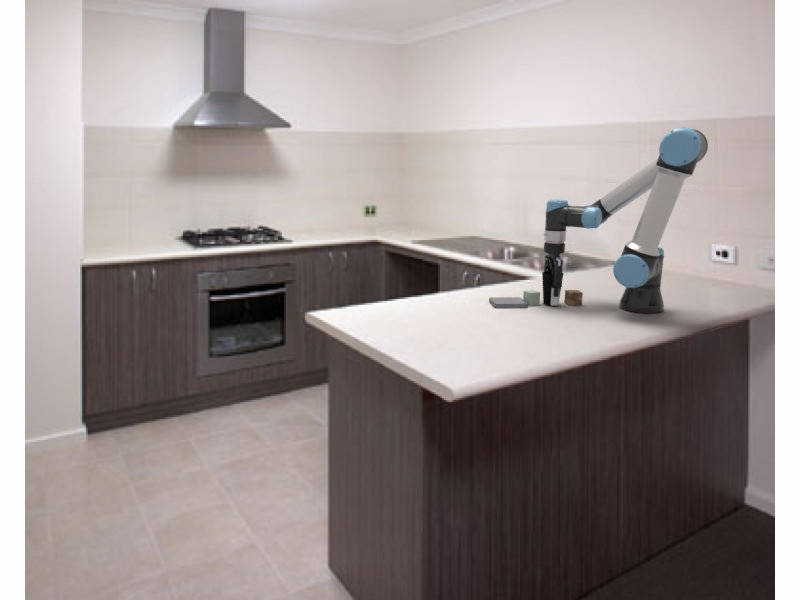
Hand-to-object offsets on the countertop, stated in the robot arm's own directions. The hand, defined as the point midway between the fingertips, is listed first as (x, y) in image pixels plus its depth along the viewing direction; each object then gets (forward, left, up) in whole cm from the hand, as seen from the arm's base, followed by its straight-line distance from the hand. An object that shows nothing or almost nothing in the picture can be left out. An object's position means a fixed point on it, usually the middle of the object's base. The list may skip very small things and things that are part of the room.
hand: (550, 302), depth 238 cm
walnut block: (-7, -5, -1) cm, 9 cm away
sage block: (+6, +5, -1) cm, 8 cm away
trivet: (+13, +10, -1) cm, 16 cm away
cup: (0, 0, -1) cm, 1 cm away
